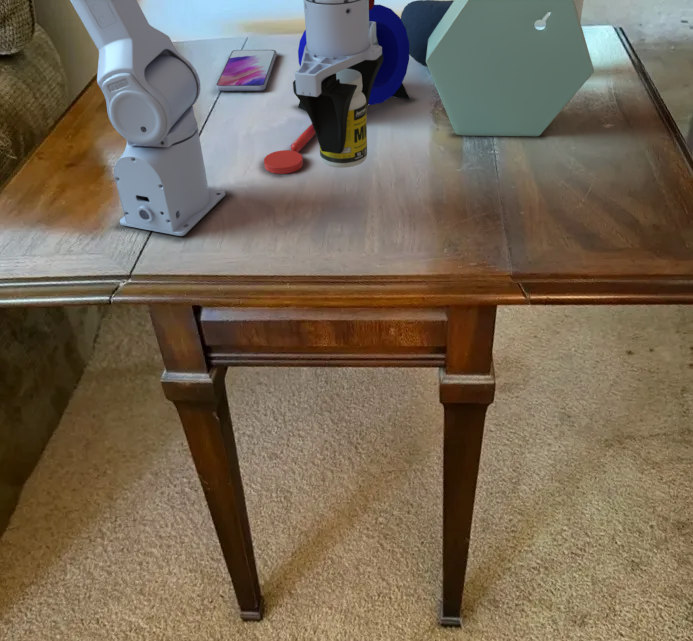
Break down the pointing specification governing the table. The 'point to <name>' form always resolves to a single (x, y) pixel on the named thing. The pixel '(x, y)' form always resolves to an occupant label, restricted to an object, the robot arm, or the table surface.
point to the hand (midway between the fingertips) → (342, 139)
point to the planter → (507, 64)
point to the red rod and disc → (289, 155)
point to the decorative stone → (422, 24)
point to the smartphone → (246, 70)
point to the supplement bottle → (351, 126)
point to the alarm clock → (393, 50)
